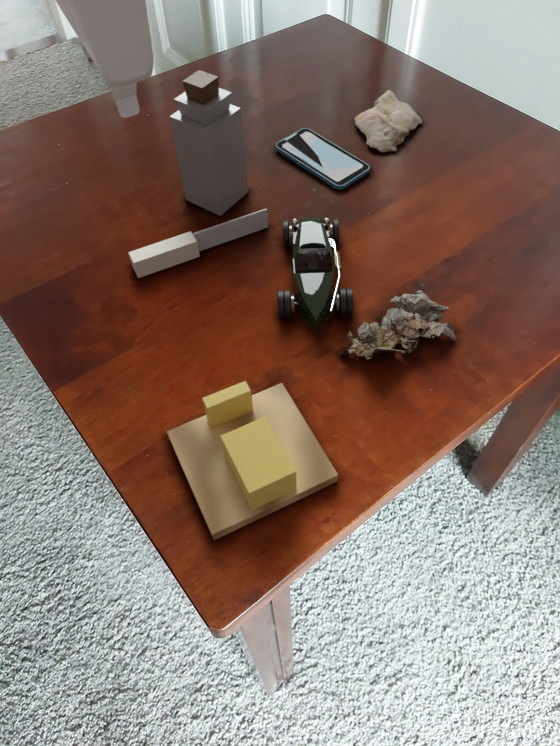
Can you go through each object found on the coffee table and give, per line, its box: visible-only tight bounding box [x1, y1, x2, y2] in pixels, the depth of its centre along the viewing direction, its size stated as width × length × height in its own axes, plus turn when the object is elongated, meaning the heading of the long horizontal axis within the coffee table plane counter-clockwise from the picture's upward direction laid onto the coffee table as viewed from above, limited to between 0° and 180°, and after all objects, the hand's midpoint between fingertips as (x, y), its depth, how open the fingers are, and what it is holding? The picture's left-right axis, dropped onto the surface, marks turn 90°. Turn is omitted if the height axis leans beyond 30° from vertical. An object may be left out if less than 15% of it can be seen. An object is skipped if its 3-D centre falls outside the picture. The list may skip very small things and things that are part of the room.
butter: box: [220, 417, 297, 510], centre depth 60 cm, size 5×7×4 cm
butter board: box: [166, 382, 339, 541], centre depth 63 cm, size 14×13×2 cm
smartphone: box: [275, 127, 371, 191], centre depth 94 cm, size 7×1×15 cm
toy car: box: [277, 216, 354, 334], centre depth 77 cm, size 9×20×5 cm, turn 1°
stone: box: [353, 89, 423, 153], centre depth 98 cm, size 13×11×3 cm
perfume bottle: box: [169, 69, 249, 217], centre depth 83 cm, size 7×7×18 cm
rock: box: [339, 289, 456, 360], centre depth 72 cm, size 8×15×4 cm, turn 115°
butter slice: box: [201, 380, 253, 428], centre depth 64 cm, size 5×2×4 cm, turn 115°
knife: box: [128, 208, 269, 279], centre depth 82 cm, size 20×2×3 cm, turn 116°
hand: (112, 87), depth 54 cm, fingers open, 8 cm apart
